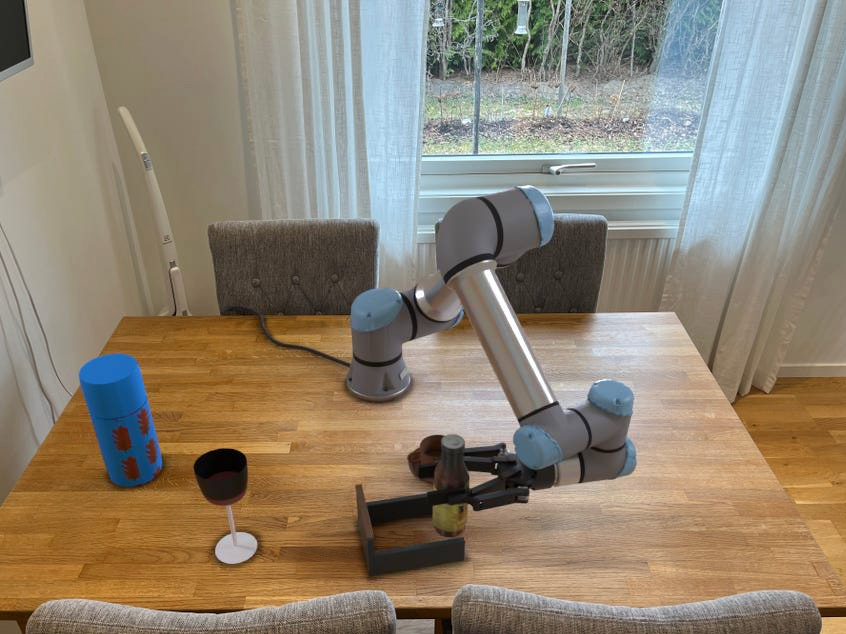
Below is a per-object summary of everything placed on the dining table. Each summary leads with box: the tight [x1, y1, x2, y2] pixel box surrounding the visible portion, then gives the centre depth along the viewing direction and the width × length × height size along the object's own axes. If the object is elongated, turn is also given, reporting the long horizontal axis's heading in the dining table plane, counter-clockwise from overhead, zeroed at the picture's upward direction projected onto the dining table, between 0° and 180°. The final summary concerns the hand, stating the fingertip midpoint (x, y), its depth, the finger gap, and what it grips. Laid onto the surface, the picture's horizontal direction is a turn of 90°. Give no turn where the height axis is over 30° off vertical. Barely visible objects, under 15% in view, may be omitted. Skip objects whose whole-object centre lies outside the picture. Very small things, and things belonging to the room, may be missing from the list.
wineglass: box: [193, 447, 258, 565], centre depth 124 cm, size 8×9×20 cm
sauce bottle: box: [432, 433, 470, 539], centre depth 125 cm, size 6×6×20 cm
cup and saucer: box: [406, 434, 445, 485], centre depth 145 cm, size 12×12×6 cm
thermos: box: [78, 353, 163, 488], centre depth 141 cm, size 11×11×25 cm
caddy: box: [354, 483, 466, 578], centre depth 128 cm, size 17×13×10 cm
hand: (422, 485), depth 124 cm, fingers closed on sauce bottle, 6 cm apart
